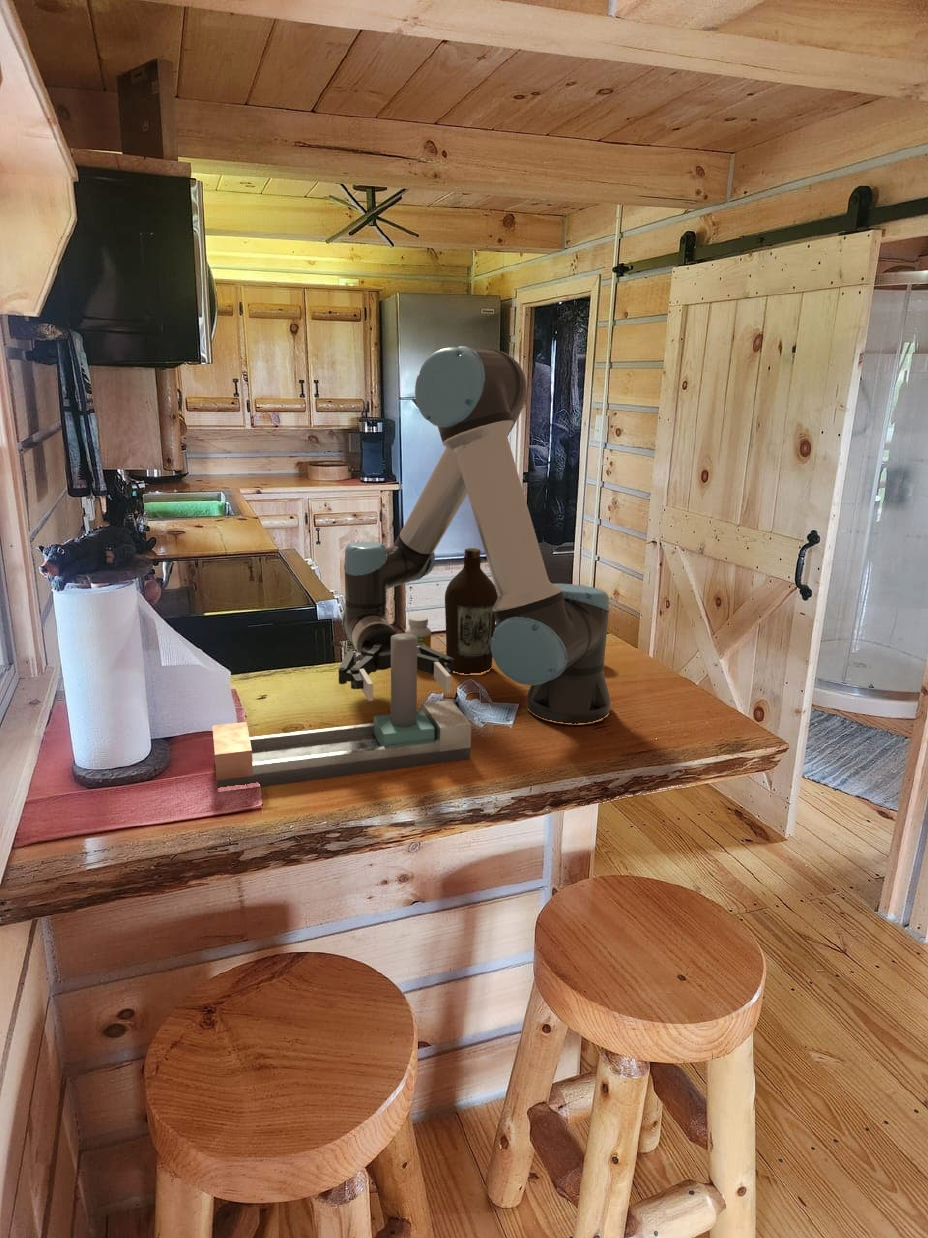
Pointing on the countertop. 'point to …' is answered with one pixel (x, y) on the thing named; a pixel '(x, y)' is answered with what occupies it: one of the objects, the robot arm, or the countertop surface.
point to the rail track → (334, 750)
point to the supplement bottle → (419, 629)
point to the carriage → (403, 698)
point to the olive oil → (470, 616)
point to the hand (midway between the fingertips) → (410, 688)
